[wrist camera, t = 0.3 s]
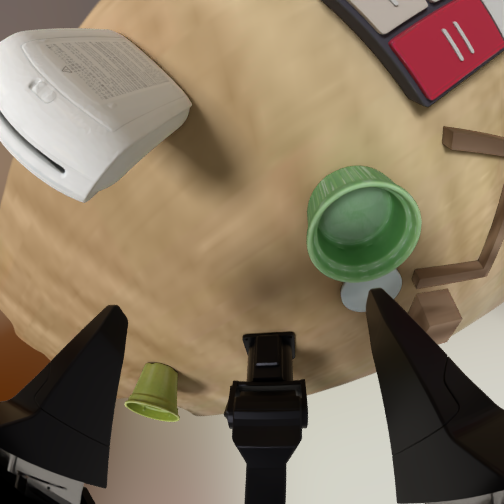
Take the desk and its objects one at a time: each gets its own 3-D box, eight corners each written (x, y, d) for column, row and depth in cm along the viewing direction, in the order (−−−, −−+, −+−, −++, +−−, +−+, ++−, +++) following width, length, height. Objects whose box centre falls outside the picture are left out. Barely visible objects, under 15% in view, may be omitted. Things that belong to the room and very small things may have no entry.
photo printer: (80, 64, 14) (-49, 108, 4) (113, 22, 12) (-22, 27, 2) (163, 143, 19) (71, 244, 9) (203, 105, 17) (121, 174, 7)
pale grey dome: (392, 303, 29) (394, 307, 29) (337, 311, 30) (338, 315, 30) (406, 260, 25) (408, 264, 24) (343, 266, 26) (344, 271, 25)
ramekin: (397, 149, 18) (423, 172, 14) (400, 238, 23) (417, 269, 20) (289, 171, 20) (294, 198, 17) (311, 258, 25) (317, 293, 22)
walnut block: (434, 312, 31) (446, 342, 27) (405, 318, 31) (415, 349, 27) (447, 288, 27) (462, 318, 24) (416, 293, 28) (430, 326, 24)
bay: (481, 268, 25) (486, 276, 24) (411, 279, 26) (416, 288, 25) (520, 141, 14) (529, 147, 13) (443, 126, 16) (453, 131, 15)
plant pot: (139, 350, 39) (125, 397, 32) (193, 368, 41) (185, 416, 35) (134, 369, 45) (123, 409, 38) (180, 384, 47) (173, 424, 40)
